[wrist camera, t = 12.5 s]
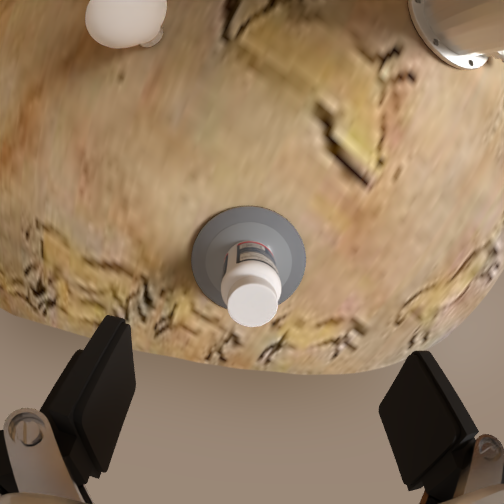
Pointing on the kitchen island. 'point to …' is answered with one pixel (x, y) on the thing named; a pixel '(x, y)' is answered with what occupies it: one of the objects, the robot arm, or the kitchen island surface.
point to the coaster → (242, 229)
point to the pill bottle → (250, 283)
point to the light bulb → (126, 22)
